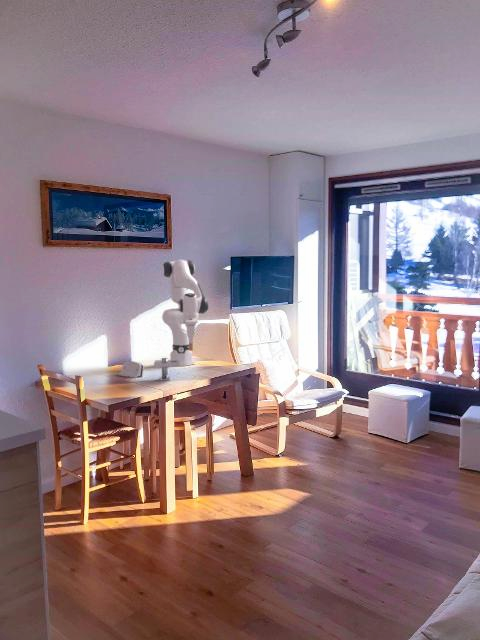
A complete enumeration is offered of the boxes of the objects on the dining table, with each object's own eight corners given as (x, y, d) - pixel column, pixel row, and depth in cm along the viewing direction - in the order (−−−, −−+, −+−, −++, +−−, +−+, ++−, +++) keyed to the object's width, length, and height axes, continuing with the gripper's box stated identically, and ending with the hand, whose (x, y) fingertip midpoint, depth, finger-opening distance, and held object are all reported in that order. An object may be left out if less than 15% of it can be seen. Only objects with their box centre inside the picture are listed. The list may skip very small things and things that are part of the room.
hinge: (118, 374, 349) (122, 359, 350) (123, 376, 353) (127, 360, 354) (137, 378, 339) (140, 362, 341) (142, 379, 343) (146, 363, 345)
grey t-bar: (155, 378, 338) (154, 357, 337) (179, 377, 340) (179, 356, 339) (154, 381, 329) (153, 360, 327) (179, 380, 330) (179, 359, 329)
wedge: (188, 349, 339) (188, 330, 338) (192, 349, 339) (192, 330, 338) (189, 350, 337) (188, 331, 335) (192, 350, 337) (192, 331, 336)
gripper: (185, 318, 346) (185, 340, 347) (185, 322, 326) (185, 345, 327) (195, 318, 346) (195, 339, 348) (196, 322, 326) (196, 345, 328)
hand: (190, 342), depth 338 cm, fingers closed on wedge, 2 cm apart
